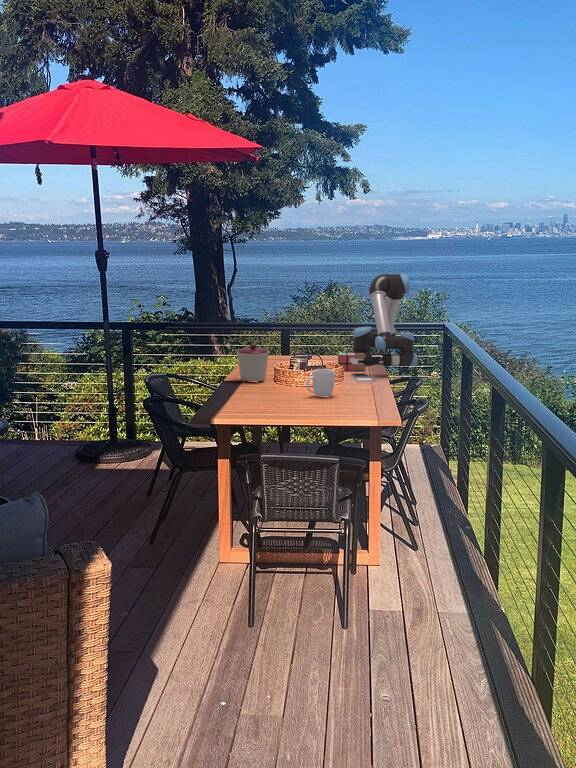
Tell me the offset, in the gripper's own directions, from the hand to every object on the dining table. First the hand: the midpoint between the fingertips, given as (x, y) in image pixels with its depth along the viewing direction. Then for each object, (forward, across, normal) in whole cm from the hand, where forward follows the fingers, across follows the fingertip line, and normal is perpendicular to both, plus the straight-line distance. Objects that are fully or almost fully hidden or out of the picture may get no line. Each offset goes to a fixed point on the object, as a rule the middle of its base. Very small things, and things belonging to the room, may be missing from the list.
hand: (351, 360), depth 454 cm
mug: (+28, -53, -10) cm, 60 cm away
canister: (+57, -6, -10) cm, 58 cm away
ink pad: (-5, 0, -10) cm, 11 cm away
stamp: (-5, 0, -6) cm, 8 cm away
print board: (-5, -11, -10) cm, 15 cm away
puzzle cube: (-3, +24, -10) cm, 26 cm away
